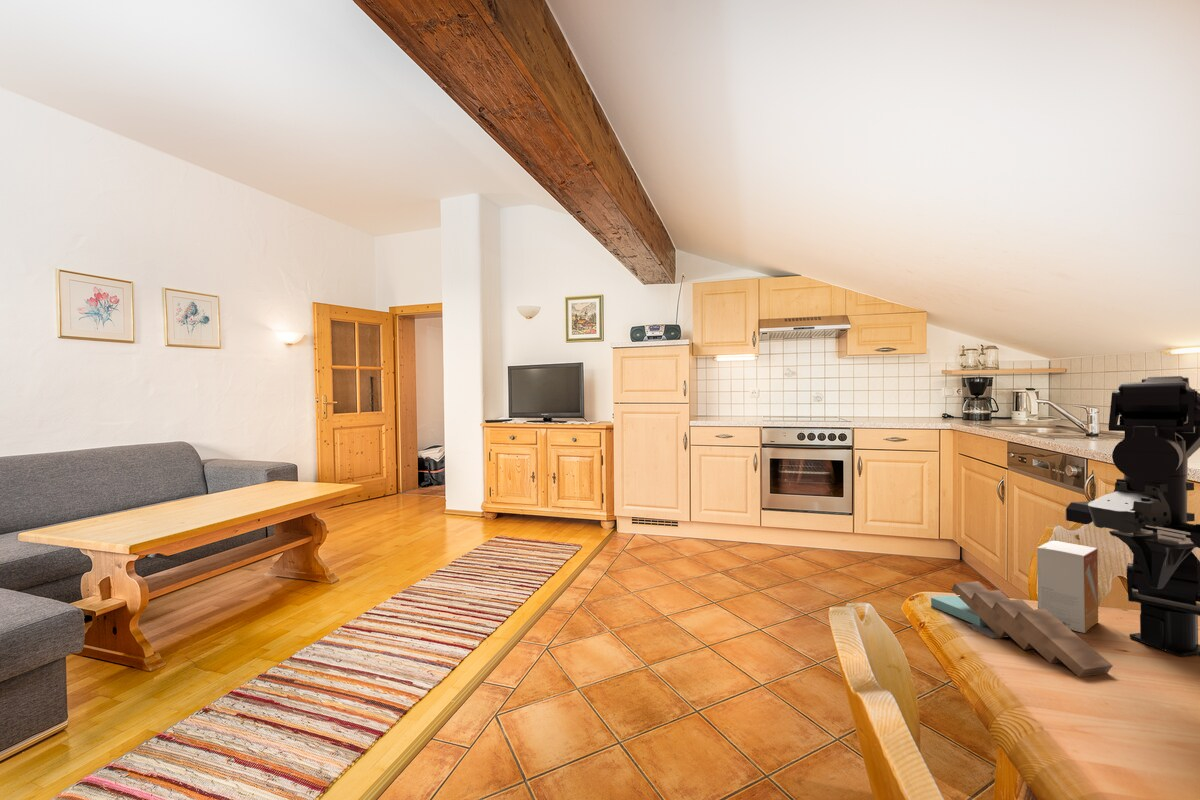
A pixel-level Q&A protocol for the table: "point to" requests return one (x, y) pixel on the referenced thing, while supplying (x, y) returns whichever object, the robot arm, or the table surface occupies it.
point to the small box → (1068, 583)
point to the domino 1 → (957, 609)
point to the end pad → (985, 630)
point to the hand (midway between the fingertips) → (1156, 587)
